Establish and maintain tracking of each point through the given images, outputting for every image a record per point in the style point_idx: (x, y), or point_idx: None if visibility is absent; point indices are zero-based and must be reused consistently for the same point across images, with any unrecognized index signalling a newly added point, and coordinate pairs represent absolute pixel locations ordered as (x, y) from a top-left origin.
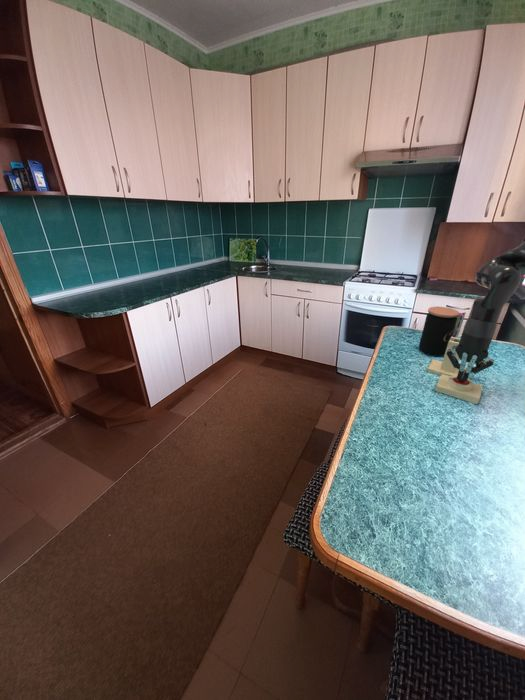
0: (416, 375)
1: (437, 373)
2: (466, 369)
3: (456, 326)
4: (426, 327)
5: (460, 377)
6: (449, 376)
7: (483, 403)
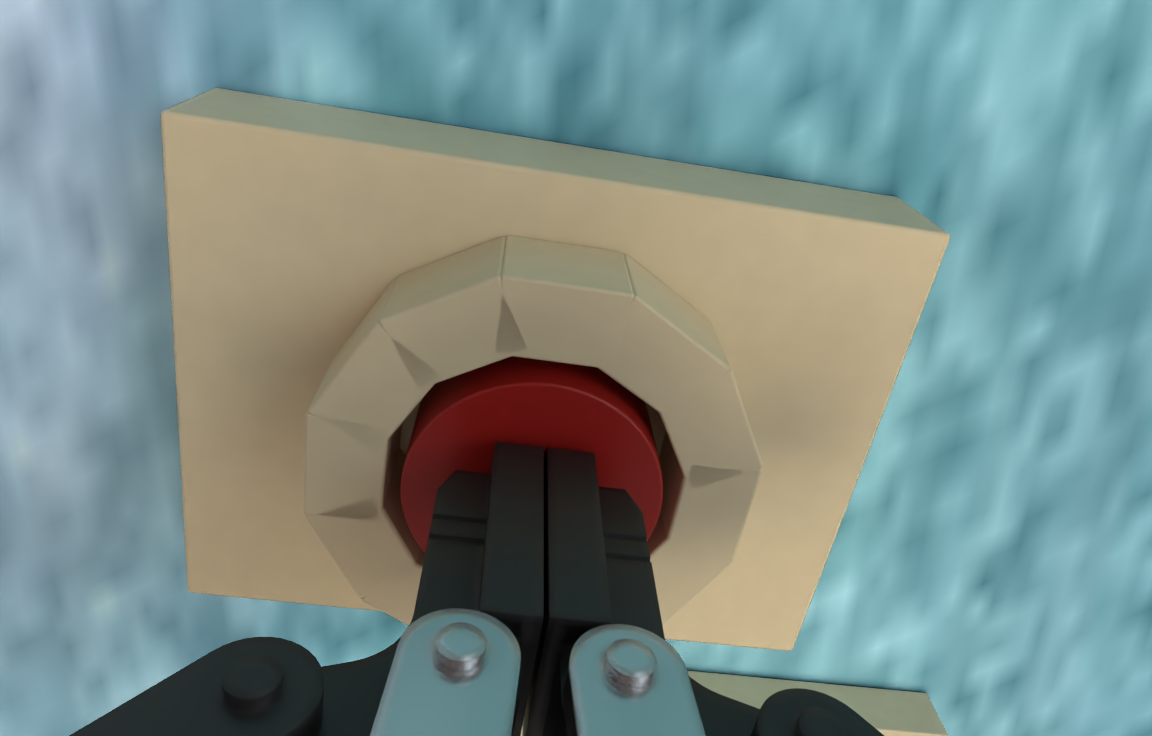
0: (1102, 535)
1: None
2: (510, 701)
3: None
4: None
5: (579, 504)
6: (681, 634)
7: (134, 178)
